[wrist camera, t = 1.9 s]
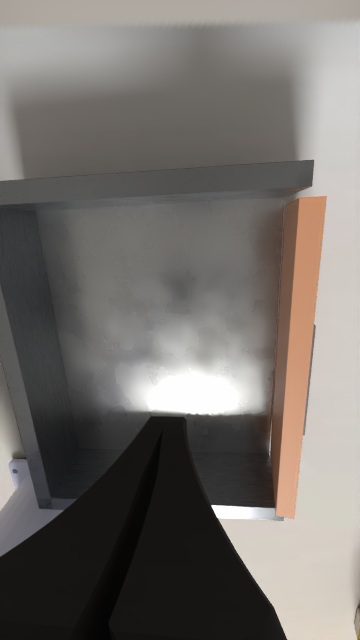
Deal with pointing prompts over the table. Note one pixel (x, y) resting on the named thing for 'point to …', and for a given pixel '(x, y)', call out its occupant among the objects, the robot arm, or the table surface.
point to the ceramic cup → (357, 623)
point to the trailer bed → (145, 321)
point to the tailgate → (295, 344)
